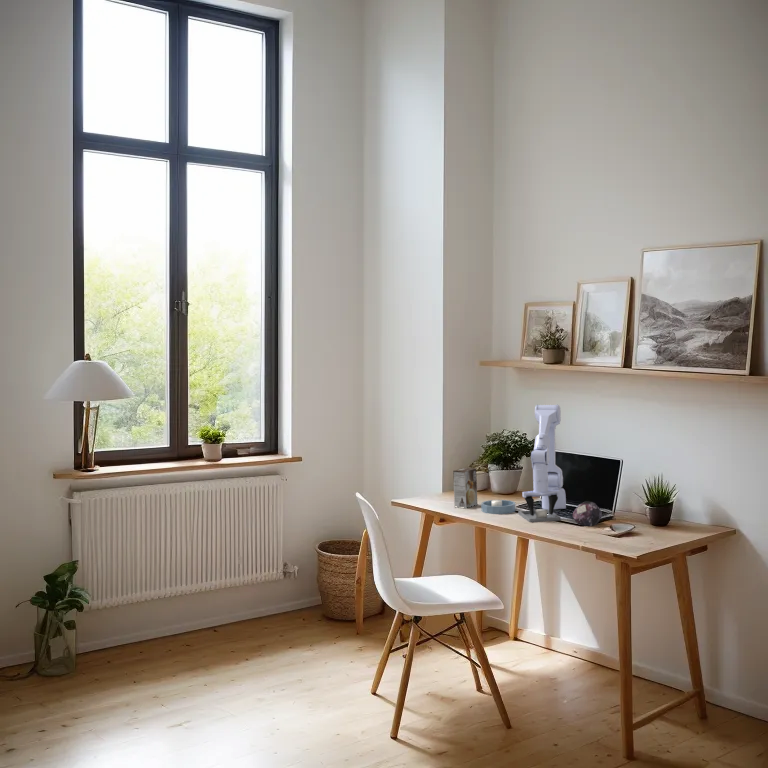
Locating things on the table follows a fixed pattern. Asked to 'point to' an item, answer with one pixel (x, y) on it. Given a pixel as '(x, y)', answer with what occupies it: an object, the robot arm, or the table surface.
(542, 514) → the cream rounded piece
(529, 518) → the parts tray
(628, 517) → the table surface
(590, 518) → the mineral specimen
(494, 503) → the light pebble
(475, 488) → the coffee box
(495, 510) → the bowl
